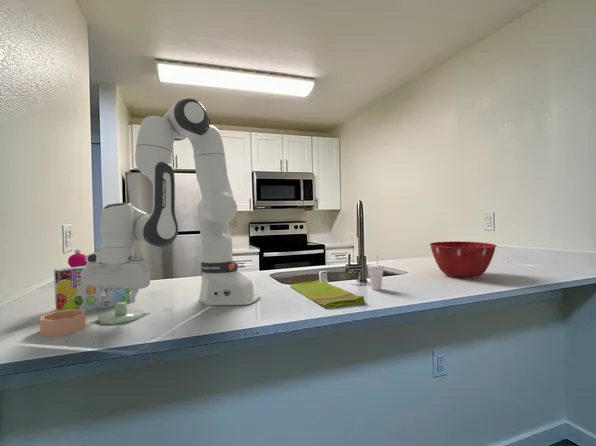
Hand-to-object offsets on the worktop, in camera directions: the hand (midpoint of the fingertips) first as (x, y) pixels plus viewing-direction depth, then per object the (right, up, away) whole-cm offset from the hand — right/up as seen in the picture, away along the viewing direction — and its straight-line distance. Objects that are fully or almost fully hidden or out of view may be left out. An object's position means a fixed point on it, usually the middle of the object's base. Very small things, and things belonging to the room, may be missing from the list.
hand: (117, 301), depth 99 cm
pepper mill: (-24, -6, +19) cm, 31 cm away
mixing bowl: (+133, -2, +58) cm, 145 cm away
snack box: (-15, -6, +13) cm, 20 cm away
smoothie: (+86, -3, +34) cm, 93 cm away
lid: (+1, -5, 0) cm, 5 cm away
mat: (+1, -6, 0) cm, 6 cm away
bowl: (-10, -6, -9) cm, 14 cm away
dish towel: (+65, -4, +27) cm, 70 cm away
